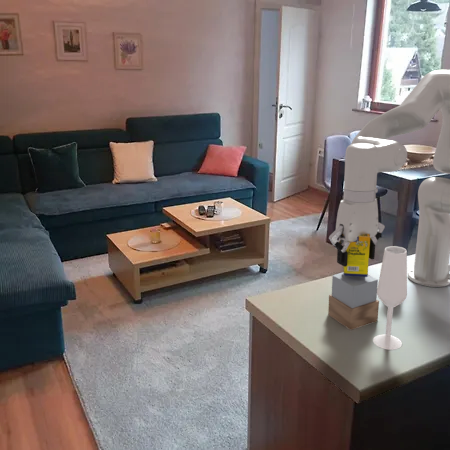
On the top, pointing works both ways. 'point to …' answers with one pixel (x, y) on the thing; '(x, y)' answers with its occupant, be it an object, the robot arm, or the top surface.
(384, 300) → the champagne flute
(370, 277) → the tower top block
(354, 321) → the tower base block
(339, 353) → the top surface
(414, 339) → the top surface
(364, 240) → the supplement box
